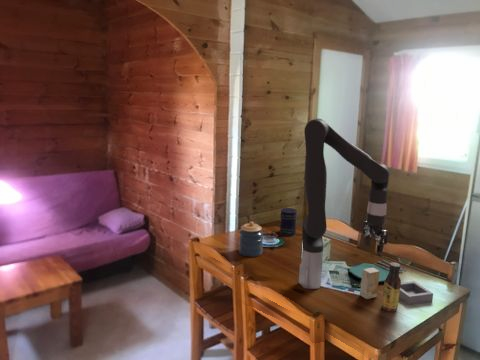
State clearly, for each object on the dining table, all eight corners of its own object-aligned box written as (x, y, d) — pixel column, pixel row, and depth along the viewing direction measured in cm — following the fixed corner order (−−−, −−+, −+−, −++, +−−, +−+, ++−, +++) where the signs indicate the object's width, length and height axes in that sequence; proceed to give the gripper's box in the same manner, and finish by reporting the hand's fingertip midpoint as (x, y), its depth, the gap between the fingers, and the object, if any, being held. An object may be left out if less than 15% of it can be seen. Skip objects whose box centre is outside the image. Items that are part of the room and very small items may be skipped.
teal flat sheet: (340, 272, 207) (341, 268, 206) (380, 260, 223) (380, 256, 223) (373, 289, 190) (374, 284, 190) (413, 275, 207) (414, 271, 206)
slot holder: (408, 305, 176) (409, 296, 175) (390, 291, 187) (391, 284, 186) (432, 301, 179) (433, 293, 179) (413, 288, 191) (414, 281, 190)
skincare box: (366, 299, 180) (369, 273, 177) (359, 295, 183) (361, 269, 181) (377, 296, 183) (380, 270, 180) (370, 292, 186) (372, 266, 184)
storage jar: (279, 235, 256) (280, 212, 253) (280, 230, 265) (281, 207, 262) (295, 236, 254) (296, 213, 251) (296, 231, 264) (297, 208, 260)
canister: (266, 251, 230) (267, 220, 226) (254, 259, 219) (255, 227, 216) (246, 246, 237) (247, 216, 233) (233, 253, 226) (234, 222, 222)
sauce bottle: (378, 304, 176) (383, 260, 171) (393, 304, 176) (398, 260, 172) (385, 313, 169) (390, 267, 165) (400, 312, 170) (405, 267, 165)
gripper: (359, 208, 180) (356, 243, 184) (379, 217, 167) (375, 256, 171) (374, 207, 183) (371, 242, 186) (395, 216, 169) (391, 254, 173)
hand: (373, 248), depth 178 cm, fingers open, 8 cm apart
